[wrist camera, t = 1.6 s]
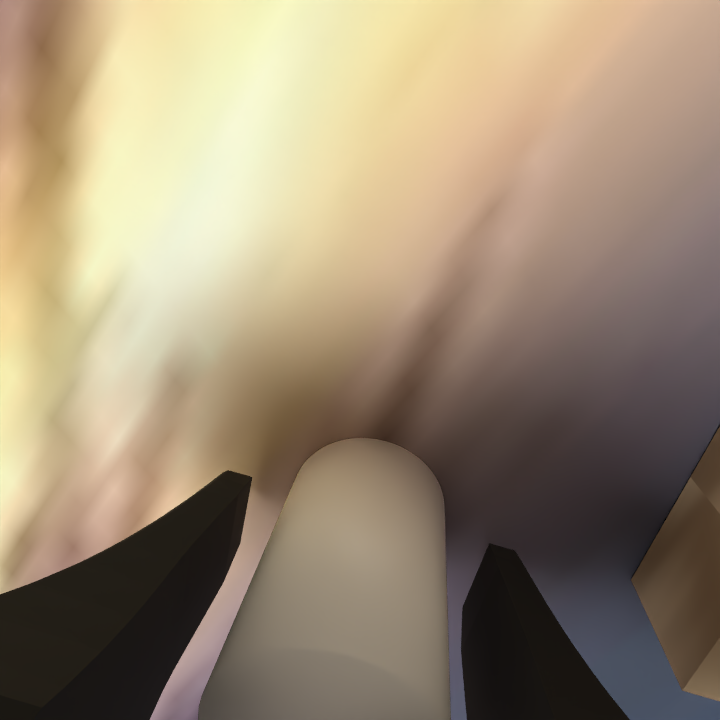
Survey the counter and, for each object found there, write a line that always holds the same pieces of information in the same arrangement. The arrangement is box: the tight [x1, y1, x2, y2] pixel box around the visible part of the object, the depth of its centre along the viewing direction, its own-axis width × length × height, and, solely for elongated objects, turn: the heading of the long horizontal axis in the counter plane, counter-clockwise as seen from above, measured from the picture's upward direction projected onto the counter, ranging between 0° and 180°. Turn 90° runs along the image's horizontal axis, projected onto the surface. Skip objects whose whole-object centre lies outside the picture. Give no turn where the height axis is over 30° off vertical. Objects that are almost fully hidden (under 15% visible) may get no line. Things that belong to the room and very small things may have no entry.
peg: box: [198, 438, 451, 720], centre depth 11 cm, size 4×4×6 cm
